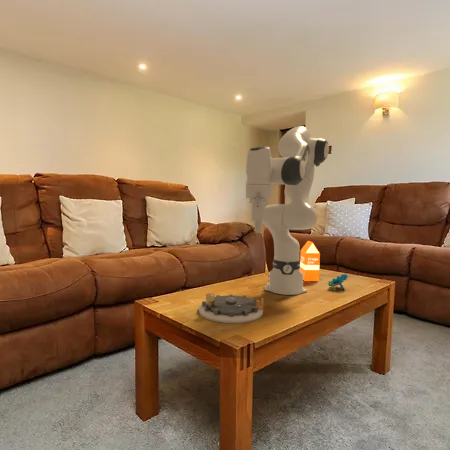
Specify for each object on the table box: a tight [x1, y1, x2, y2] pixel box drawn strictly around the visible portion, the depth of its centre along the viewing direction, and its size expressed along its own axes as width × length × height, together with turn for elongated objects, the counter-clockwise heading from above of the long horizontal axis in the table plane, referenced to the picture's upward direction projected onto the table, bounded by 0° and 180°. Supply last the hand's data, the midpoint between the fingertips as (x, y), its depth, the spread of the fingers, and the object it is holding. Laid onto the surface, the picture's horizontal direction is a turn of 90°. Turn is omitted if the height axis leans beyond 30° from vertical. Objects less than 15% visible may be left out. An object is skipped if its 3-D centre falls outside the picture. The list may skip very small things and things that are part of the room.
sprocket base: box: [198, 297, 265, 324], centre depth 119 cm, size 23×23×6 cm
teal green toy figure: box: [327, 273, 349, 290], centre depth 154 cm, size 11×6×10 cm
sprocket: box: [201, 292, 261, 317], centre depth 119 cm, size 21×21×6 cm
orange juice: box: [299, 240, 321, 282], centre depth 172 cm, size 8×9×20 cm
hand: (257, 232), depth 117 cm, fingers closed
